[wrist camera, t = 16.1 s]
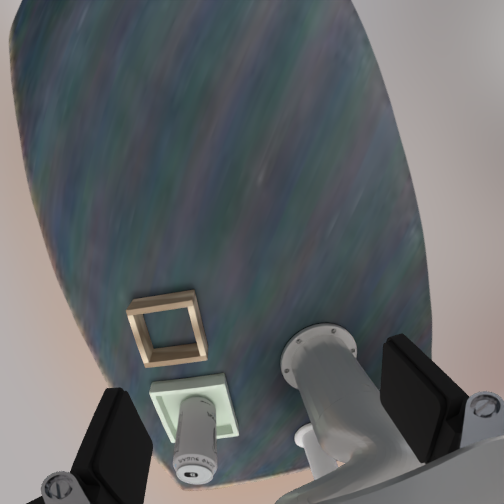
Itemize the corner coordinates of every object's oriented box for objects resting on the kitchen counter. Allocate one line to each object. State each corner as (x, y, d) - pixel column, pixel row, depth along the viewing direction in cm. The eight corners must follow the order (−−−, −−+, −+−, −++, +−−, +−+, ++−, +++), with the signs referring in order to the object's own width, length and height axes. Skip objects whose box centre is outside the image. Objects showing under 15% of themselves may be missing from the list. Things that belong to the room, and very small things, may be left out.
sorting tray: (238, 424, 50) (239, 435, 47) (173, 431, 50) (171, 442, 47) (224, 372, 47) (224, 384, 44) (152, 381, 47) (149, 392, 44)
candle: (302, 450, 54) (334, 551, 30) (288, 432, 52) (319, 543, 28) (334, 434, 54) (377, 533, 29) (322, 415, 52) (367, 523, 28)
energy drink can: (216, 419, 49) (218, 487, 34) (181, 418, 48) (175, 485, 34) (215, 393, 48) (216, 463, 33) (178, 393, 47) (168, 461, 32)
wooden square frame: (208, 345, 46) (207, 360, 42) (150, 353, 45) (145, 367, 42) (194, 289, 44) (192, 300, 40) (133, 299, 43) (125, 310, 39)
